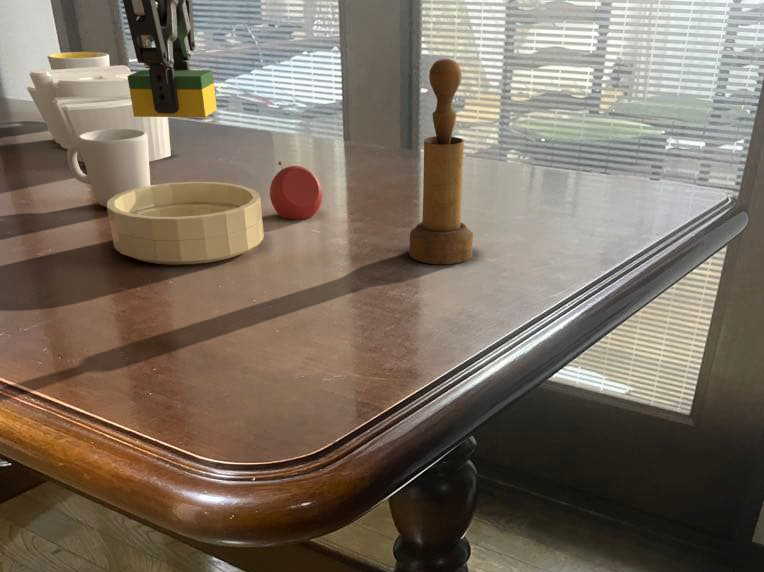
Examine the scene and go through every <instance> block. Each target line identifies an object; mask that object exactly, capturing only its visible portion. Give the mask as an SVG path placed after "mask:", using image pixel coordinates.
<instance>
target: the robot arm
mask: <svg viewBox="0 0 764 572" xmlns="http://www.w3.org/2000/svg"><path fill="white" fill-rule="evenodd" d="M122 4H123V7H124V11H125V16H126V19H127V24H128V29H129V33H130V37H131V40H132V45H133V49H134V54H135V58H136V61H137V63H139V64H143V65H144V67H145V69H148V70H149V76H150V82H151V89H152V96H153V102H154V109H155V111H156V112H157V113H176V112H177V111H178V110H179V103H178V96H177V88H176V81H175V72H174V70H191V68H190V62H189V61H191V59H192V52H194V51H195V50H196V49H195V48H196V42H195V27H194V26H195V25H194V8H193V7H194V6H193V5H194V4H193V0H122ZM153 42H154V46H155V47H153V45H152V43H153Z"/></svg>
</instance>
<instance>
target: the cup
mask: <svg viewBox="0 0 764 572" xmlns="http://www.w3.org/2000/svg"><path fill="white" fill-rule="evenodd" d="M78 151H80V152H81V153H82V156H83V159H84V162H83V163H84V166H85V170H86V173H87V174H85V173H83V171H82V169H81V168H80V166H79V162H78V158H77V152H78ZM66 159H67V163H68V167H69V170H70V172H71V174H72V175H73V177H74V178H75V179H76V181H79V182H80V183H83V184H87V185H90V186H91V189H92V192H93V195H94V197H95V199H96V201H97V203H98V204H99V205H100V206H102V207H104V208H107V201H108V200H109V199H111V198H112V197H113V196H115V195H117V194H120V193H123V192H125V191H128V190H131V189H136V188H140V187H145V186H150V185H151V173H150V172H151V171H150V162H149V154H148V138H147V134H146V133H145V132H143V131H140V130H134V129H107V130H97V131H91V132H87V133H84V134H81V135H80V136H79V137H78V142H77V143H74V144H72V145H71V146H70V147H69V148H68V149H67V150H66Z"/></svg>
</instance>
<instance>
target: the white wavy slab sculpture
mask: <svg viewBox="0 0 764 572" xmlns="http://www.w3.org/2000/svg"><path fill="white" fill-rule="evenodd" d="M136 72H137V71H131V69H130V68H129V67H128V65H121V64H120V65H110V66H103V67H87V68H72V69H57V70H51V69H44V70H32V71H30V72H29V73H28V74H29V77H30V79H31V81H32V83H30V84H29V85H28V87H26V89H27V91H28V94H30V97H31V99H32V101H33V102H34V104H35V106H36V108H37V110H38V112H39V113H40V115H41V117H42V120H43V121H44V123H45V125H46V127H47V128H48V131H49V133H50V134H51V136H52V138H53V140H54V142H55V143H56V144H59V145H60V147H61V148H63V149H66V150H68V148H69V147H70V146H71V145H72V144H74V143H77V142H78V137H79V136H80V135H81V134H84V133H87V132H91V131H97V130H107V129H134V130H140V131H143V132H145V133H146V134H147V138H148V154H149V163H150V162H154V161H159V160H162V159H165V158H169V157H172V154H171V153H172V152H171V141H170V140H171V138H170V128H169V127H170V125H169V117H134V114H133V108H132V101H131V95H130V88H129V83H128V77H127V76H129V75H131V74H134V73H136ZM77 161H79V162H81V163H84V159H83V156H82V153H81V152H80V151H78V152H77Z"/></svg>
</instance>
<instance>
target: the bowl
mask: <svg viewBox="0 0 764 572" xmlns="http://www.w3.org/2000/svg"><path fill="white" fill-rule="evenodd" d="M106 210H107V215H108V221H109V226H110V231H111V237H112V243H113V248H114V249H115V250H116V251H118V253H120V254H121V255H124V256H127V257H130V258H133V259H135V260H138V261H142V262H146V263H150V264H159V265H173V266H174V265H175V266H177V265H178V266H179V265H181V266H182V265H199V264H207V263H208V264H209V263H214V262H219V261H224V260H227V259H228V260H229V259H231V258H234V257H238V256H239V255H242V254H244V253H246V252H248V251H250V250H251V249H253V248H255V247H257V246H259V245H260V244H261V242H262V241H263V240H264V238H265V237H264V236H265V233H264V224H263V211H262V201H261V196H260V194H259V192H258V191H257V190H255V189H252V188H250V187H248V186H243V185H239V184H236V183H235V184H234V183H229V182H217V181H180V182H166V183H159V184H150V186H145V187H140V188H136V189H131V190H128V191H125V192H123V193H120V194H117V195H115V196H113V197H112V198H111V199H109V200H108V201H107V207H106Z"/></svg>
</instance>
